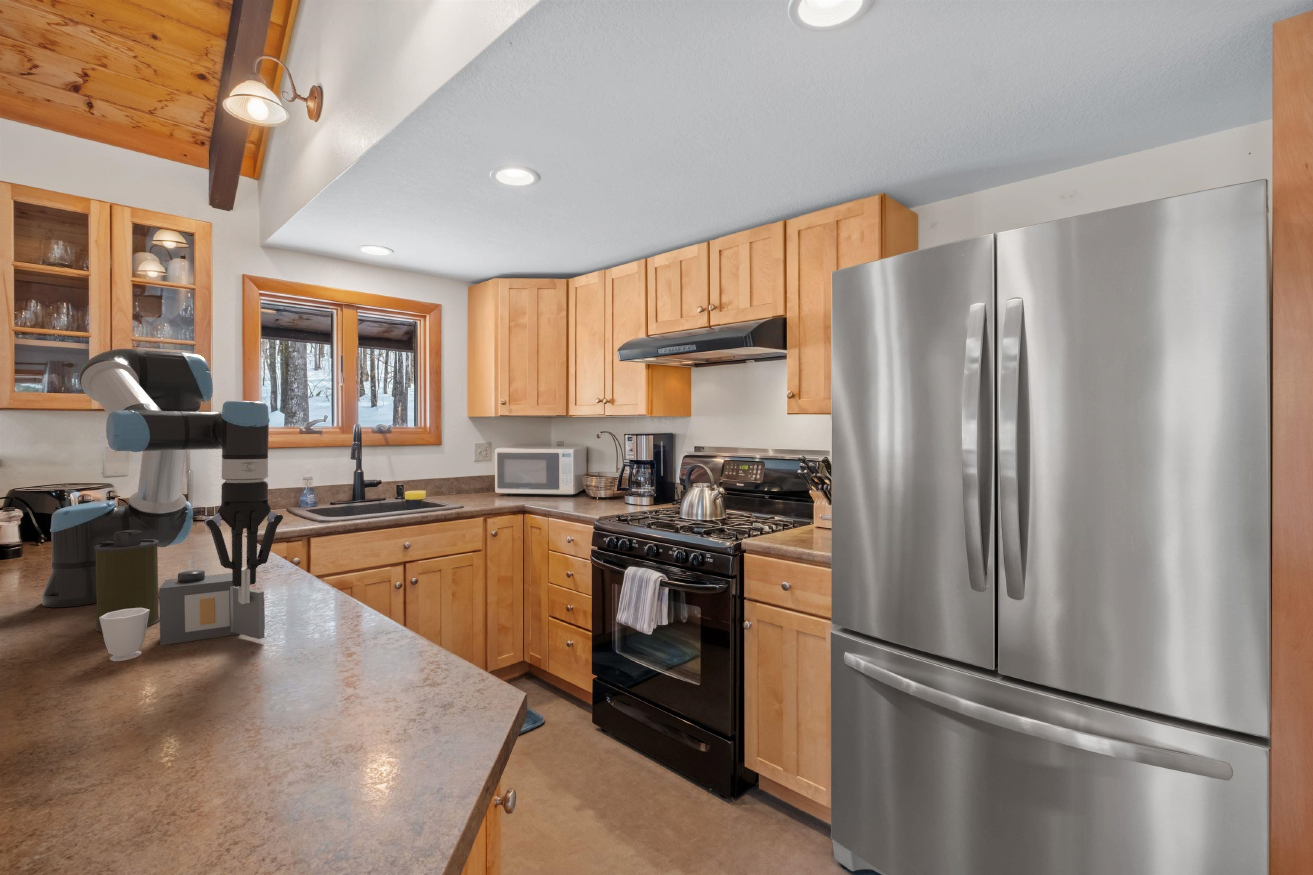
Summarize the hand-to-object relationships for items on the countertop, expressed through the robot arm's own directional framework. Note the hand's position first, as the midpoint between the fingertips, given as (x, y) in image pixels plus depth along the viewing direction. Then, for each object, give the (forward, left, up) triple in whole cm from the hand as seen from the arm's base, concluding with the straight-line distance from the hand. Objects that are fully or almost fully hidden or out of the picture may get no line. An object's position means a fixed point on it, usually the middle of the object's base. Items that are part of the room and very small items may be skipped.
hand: (244, 602), depth 121 cm
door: (-2, 0, -7) cm, 7 cm away
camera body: (-11, -7, -8) cm, 16 cm away
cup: (-4, -19, -8) cm, 21 cm away
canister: (-27, -22, -8) cm, 35 cm away
